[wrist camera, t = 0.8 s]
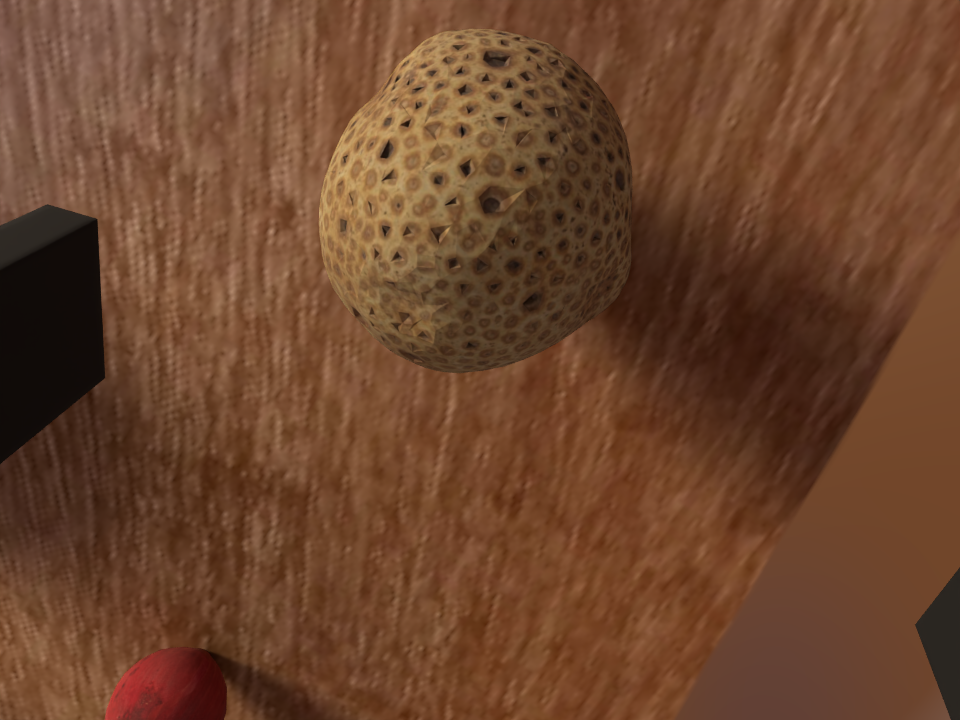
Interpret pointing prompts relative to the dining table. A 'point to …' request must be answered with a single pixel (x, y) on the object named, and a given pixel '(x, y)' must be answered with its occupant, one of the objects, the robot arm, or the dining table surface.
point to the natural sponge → (479, 203)
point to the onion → (171, 688)
